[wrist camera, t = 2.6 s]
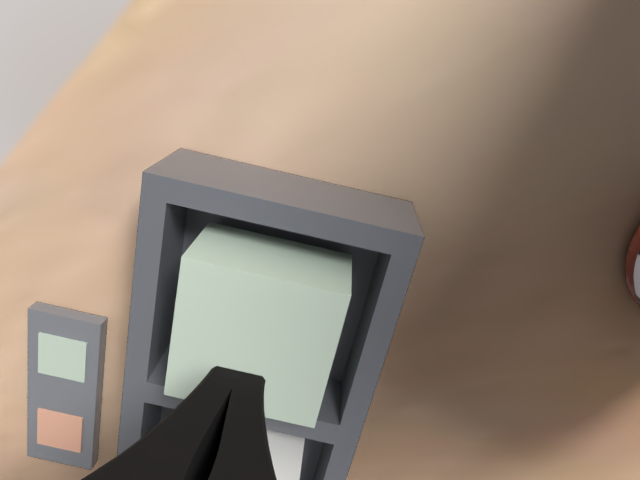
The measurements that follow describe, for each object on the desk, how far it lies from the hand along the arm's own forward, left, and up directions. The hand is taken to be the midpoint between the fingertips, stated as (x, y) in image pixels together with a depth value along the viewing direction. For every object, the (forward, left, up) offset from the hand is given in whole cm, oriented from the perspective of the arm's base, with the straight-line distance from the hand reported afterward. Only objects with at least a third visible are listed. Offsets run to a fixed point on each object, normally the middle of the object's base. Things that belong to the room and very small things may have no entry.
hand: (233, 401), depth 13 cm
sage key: (0, 0, -5) cm, 5 cm away
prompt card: (+8, +8, -7) cm, 13 cm away
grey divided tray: (0, +8, -7) cm, 10 cm away
